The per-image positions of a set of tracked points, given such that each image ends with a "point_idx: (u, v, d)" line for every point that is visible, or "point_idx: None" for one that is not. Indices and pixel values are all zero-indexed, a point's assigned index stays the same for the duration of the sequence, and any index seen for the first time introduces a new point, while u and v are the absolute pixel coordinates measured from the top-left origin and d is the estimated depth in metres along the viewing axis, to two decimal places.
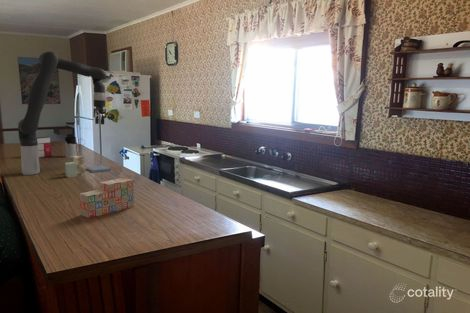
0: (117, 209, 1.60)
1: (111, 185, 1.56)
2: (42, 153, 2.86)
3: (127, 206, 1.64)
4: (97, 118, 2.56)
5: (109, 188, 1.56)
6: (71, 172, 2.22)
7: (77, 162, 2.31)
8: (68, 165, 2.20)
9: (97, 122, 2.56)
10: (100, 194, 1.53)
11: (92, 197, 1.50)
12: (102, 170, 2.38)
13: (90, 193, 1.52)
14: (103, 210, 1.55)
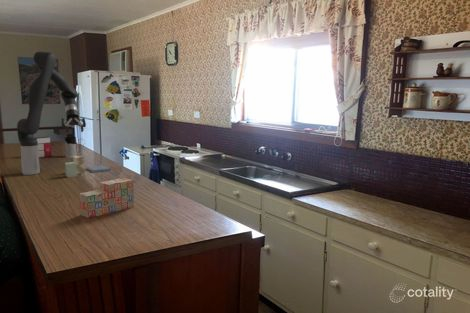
0: (117, 209, 1.60)
1: (111, 185, 1.56)
2: (42, 153, 2.86)
3: (127, 206, 1.63)
4: None
5: (109, 188, 1.56)
6: (71, 172, 2.22)
7: (77, 162, 2.31)
8: (68, 165, 2.20)
9: (67, 130, 2.40)
10: (100, 194, 1.53)
11: (92, 197, 1.50)
12: (102, 170, 2.38)
13: (90, 193, 1.52)
14: (103, 210, 1.55)
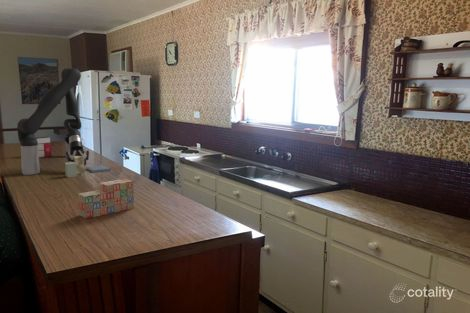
0: (116, 210, 1.58)
1: (110, 186, 1.55)
2: (42, 153, 2.86)
3: (127, 207, 1.62)
4: None
5: (107, 189, 1.54)
6: (71, 172, 2.22)
7: (77, 162, 2.31)
8: (68, 165, 2.20)
9: None
10: (98, 195, 1.52)
11: (89, 198, 1.49)
12: (102, 170, 2.38)
13: (88, 193, 1.52)
14: (101, 211, 1.54)
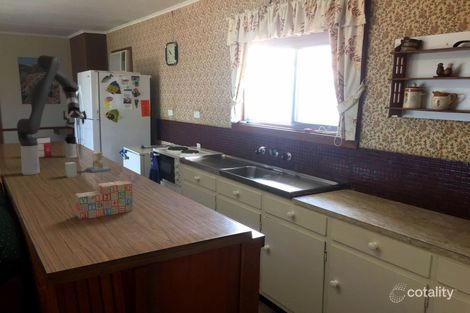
0: (113, 212, 1.56)
1: (106, 187, 1.52)
2: (42, 153, 2.86)
3: (125, 210, 1.58)
4: (68, 119, 2.50)
5: (104, 190, 1.52)
6: (71, 172, 2.22)
7: (96, 157, 2.38)
8: (68, 165, 2.20)
9: None
10: (93, 196, 1.50)
11: (84, 199, 1.48)
12: (102, 170, 2.38)
13: (84, 194, 1.51)
14: (97, 212, 1.52)
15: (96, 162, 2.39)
